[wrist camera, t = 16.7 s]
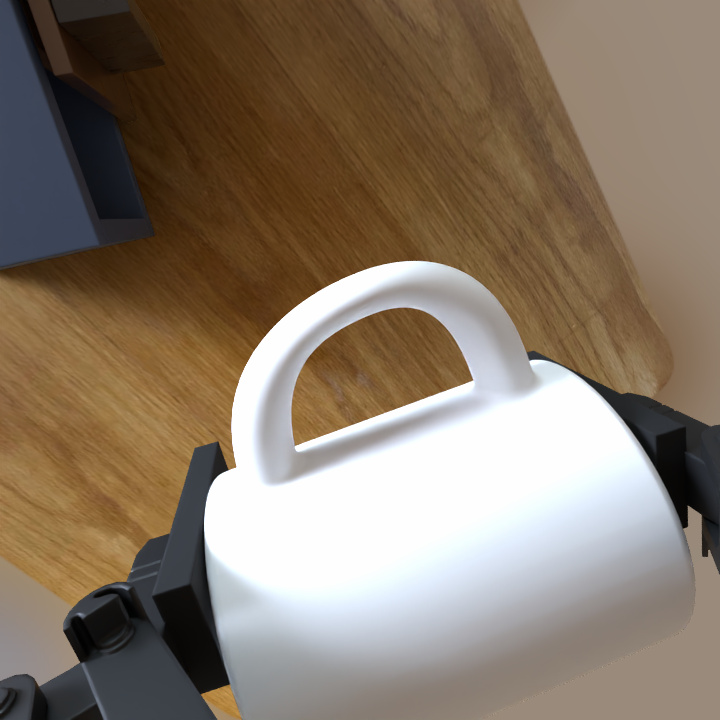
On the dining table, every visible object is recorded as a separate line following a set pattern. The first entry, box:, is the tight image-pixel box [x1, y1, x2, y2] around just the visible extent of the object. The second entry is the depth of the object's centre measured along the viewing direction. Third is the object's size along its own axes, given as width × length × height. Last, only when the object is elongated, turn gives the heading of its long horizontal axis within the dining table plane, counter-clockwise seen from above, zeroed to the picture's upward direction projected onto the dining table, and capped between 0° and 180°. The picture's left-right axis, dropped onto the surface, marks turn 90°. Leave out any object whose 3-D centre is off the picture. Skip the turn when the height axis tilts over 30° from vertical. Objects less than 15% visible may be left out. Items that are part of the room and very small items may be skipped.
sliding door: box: [27, 0, 165, 123], centre depth 25 cm, size 4×9×11 cm, turn 12°
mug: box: [204, 261, 695, 720], centre depth 13 cm, size 12×10×8 cm
